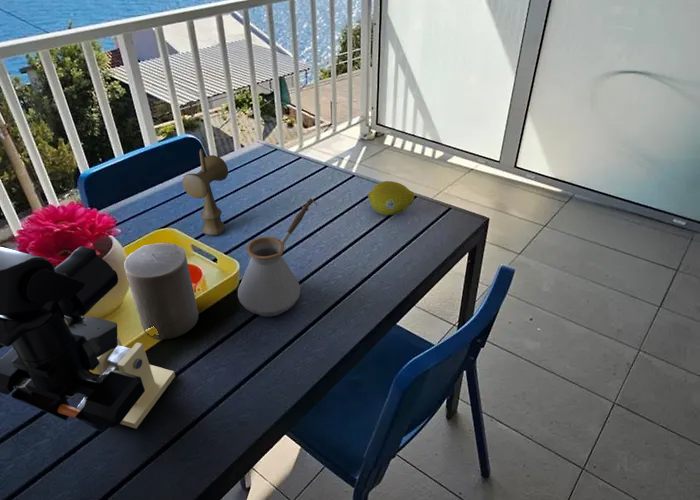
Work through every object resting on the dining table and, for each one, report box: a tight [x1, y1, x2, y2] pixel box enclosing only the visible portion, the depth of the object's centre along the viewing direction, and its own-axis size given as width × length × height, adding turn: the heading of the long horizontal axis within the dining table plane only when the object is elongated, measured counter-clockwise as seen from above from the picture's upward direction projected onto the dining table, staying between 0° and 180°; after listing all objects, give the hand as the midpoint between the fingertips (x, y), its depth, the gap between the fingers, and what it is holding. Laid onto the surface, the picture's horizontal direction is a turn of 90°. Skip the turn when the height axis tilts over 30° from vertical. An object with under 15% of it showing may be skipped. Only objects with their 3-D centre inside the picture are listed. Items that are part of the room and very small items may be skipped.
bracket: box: [96, 336, 176, 430], centre depth 73 cm, size 10×8×10 cm
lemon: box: [367, 180, 415, 216], centre depth 118 cm, size 11×8×8 cm
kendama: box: [182, 148, 229, 237], centre depth 106 cm, size 6×10×20 cm, turn 164°
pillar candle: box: [123, 242, 199, 340], centre depth 85 cm, size 10×10×15 cm
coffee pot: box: [237, 198, 318, 317], centre depth 93 cm, size 21×12×15 cm, turn 151°
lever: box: [58, 345, 132, 420], centre depth 69 cm, size 11×6×2 cm, turn 163°
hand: (85, 422), depth 67 cm, fingers closed on lever, 5 cm apart
